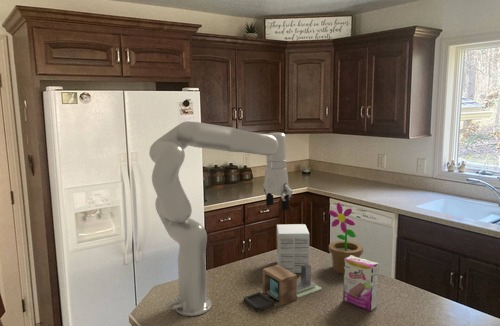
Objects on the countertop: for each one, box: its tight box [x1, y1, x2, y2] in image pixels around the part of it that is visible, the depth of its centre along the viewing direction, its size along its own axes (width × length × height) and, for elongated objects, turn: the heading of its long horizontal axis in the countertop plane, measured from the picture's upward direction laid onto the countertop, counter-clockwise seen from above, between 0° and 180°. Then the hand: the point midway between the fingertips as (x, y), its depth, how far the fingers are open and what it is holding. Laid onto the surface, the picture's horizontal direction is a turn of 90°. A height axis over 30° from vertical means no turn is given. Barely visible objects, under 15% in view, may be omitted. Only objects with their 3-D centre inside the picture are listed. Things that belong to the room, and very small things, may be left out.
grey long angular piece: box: [266, 264, 317, 301], centre depth 152 cm, size 19×6×8 cm, turn 123°
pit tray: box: [243, 291, 275, 312], centre depth 144 cm, size 7×9×2 cm
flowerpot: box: [328, 202, 364, 275], centre depth 170 cm, size 14×14×30 cm
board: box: [297, 284, 323, 299], centre depth 155 cm, size 12×10×1 cm
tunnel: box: [262, 264, 298, 306], centre depth 149 cm, size 7×11×10 cm, turn 33°
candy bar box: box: [342, 255, 380, 312], centre depth 142 cm, size 11×5×16 cm, turn 47°
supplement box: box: [276, 223, 310, 274], centre depth 174 cm, size 13×13×18 cm
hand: (277, 207), depth 157 cm, fingers open, 9 cm apart
